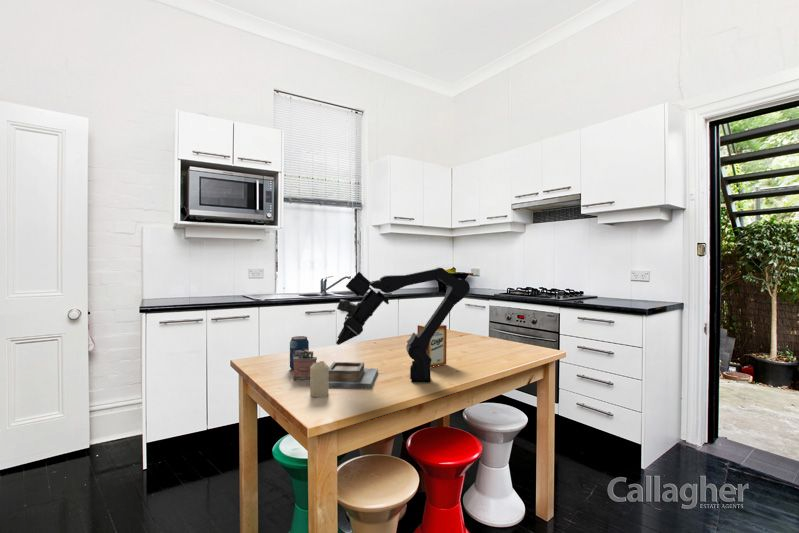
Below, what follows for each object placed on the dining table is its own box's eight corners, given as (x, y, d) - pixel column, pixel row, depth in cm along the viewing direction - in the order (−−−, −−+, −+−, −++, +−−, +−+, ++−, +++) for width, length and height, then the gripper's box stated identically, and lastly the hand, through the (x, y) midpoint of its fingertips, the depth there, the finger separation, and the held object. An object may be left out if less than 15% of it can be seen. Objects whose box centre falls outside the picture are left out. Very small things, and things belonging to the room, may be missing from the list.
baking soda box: (427, 368, 152) (427, 326, 151) (417, 364, 157) (417, 324, 157) (446, 364, 157) (446, 324, 157) (435, 361, 162) (436, 322, 162)
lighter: (317, 377, 139) (317, 349, 139) (315, 380, 135) (315, 351, 135) (294, 377, 138) (294, 349, 138) (292, 380, 135) (292, 351, 135)
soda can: (293, 372, 144) (293, 340, 144) (287, 368, 150) (287, 337, 150) (311, 369, 148) (311, 338, 148) (304, 365, 154) (304, 335, 154)
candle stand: (377, 372, 145) (377, 360, 145) (371, 388, 127) (371, 374, 127) (324, 371, 147) (324, 359, 147) (309, 386, 129) (310, 373, 129)
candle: (320, 390, 125) (320, 358, 125) (332, 394, 122) (332, 361, 122) (306, 394, 121) (306, 362, 121) (318, 398, 117) (318, 365, 117)
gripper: (350, 288, 143) (322, 321, 142) (349, 292, 124) (316, 330, 123) (374, 308, 144) (345, 341, 143) (376, 315, 125) (343, 353, 124)
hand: (337, 341), depth 133 cm, fingers open, 9 cm apart
